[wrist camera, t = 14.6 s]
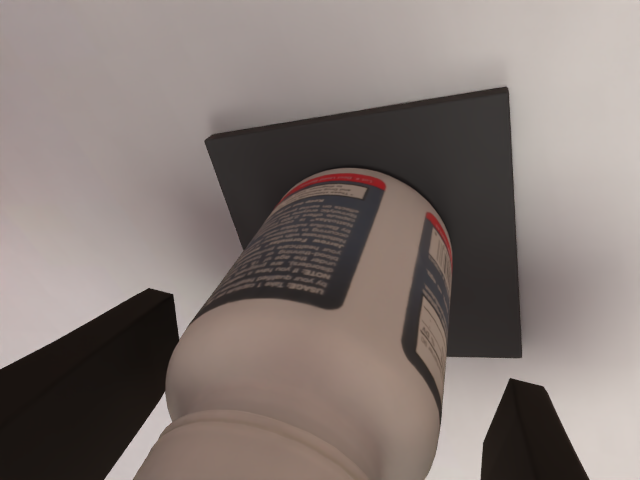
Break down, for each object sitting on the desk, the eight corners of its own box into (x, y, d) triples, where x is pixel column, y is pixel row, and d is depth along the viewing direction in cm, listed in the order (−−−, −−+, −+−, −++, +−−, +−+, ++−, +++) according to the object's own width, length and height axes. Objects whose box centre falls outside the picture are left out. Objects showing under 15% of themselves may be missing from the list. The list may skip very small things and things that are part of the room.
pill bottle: (247, 257, 15) (37, 544, 8) (326, 124, 12) (105, 395, 5) (385, 345, 16) (303, 697, 8) (496, 237, 13) (514, 643, 5)
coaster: (284, 344, 18) (279, 353, 17) (211, 134, 14) (202, 140, 14) (521, 347, 15) (522, 359, 14) (507, 86, 11) (508, 91, 11)
